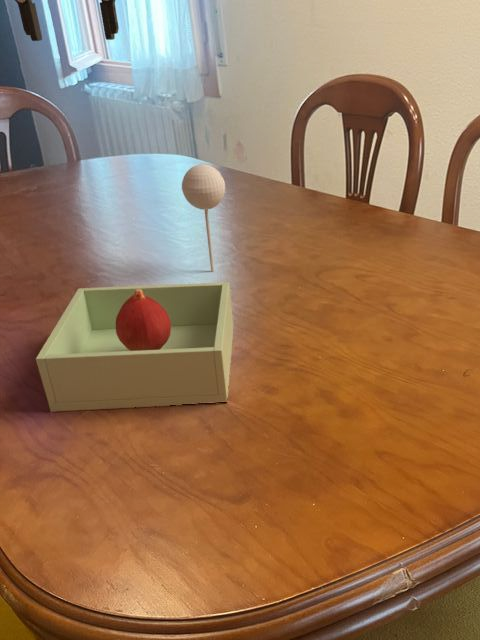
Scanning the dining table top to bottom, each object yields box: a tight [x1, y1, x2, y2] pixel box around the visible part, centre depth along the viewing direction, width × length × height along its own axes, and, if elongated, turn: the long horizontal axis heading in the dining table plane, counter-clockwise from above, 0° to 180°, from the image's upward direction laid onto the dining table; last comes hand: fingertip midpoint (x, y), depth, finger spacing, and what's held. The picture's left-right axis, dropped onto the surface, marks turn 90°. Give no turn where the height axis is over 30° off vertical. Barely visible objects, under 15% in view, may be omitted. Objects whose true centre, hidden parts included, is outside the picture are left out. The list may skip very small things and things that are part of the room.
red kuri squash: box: [115, 289, 171, 351], centre depth 71 cm, size 6×6×8 cm
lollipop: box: [181, 164, 226, 273], centre depth 93 cm, size 6×6×15 cm
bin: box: [35, 281, 234, 413], centre depth 72 cm, size 18×18×6 cm
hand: (74, 40), depth 78 cm, fingers open, 8 cm apart
